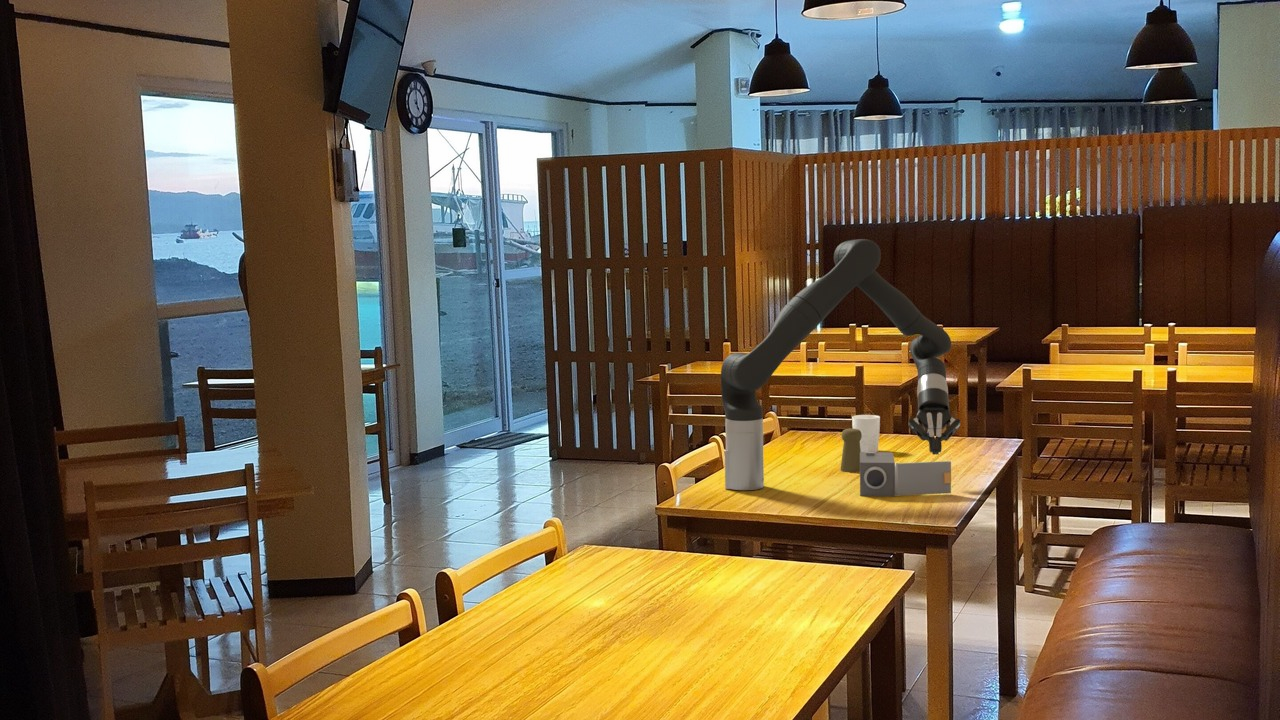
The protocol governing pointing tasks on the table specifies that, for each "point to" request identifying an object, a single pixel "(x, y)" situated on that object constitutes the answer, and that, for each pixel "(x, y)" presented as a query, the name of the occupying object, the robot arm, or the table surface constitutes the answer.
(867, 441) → the white cup
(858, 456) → the cork
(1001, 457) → the table surface
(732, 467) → the robot arm
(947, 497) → the table surface
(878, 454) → the block
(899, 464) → the door
